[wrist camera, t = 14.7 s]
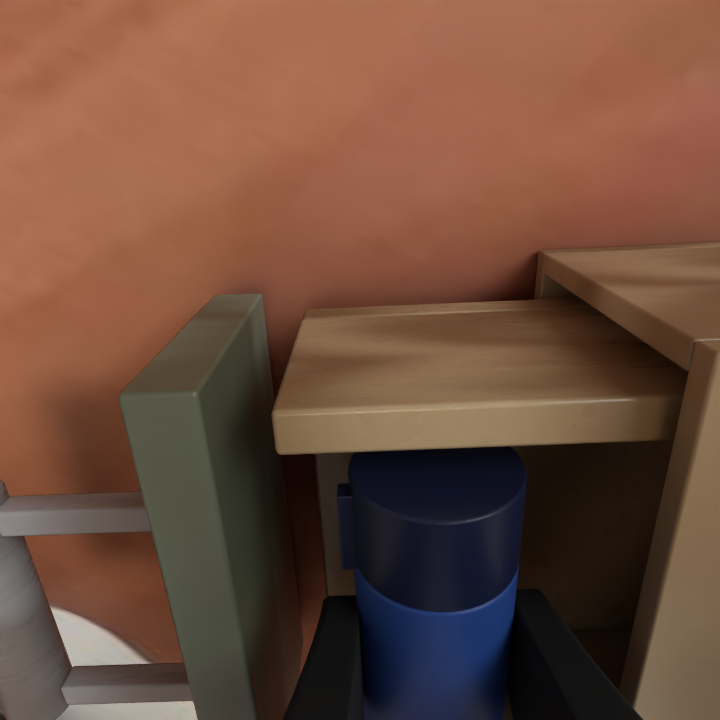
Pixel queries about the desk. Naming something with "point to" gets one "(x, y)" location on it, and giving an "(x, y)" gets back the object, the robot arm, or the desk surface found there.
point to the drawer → (332, 456)
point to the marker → (434, 577)
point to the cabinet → (686, 465)
